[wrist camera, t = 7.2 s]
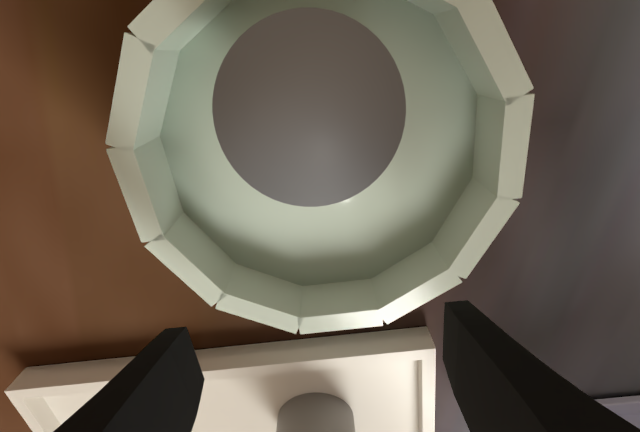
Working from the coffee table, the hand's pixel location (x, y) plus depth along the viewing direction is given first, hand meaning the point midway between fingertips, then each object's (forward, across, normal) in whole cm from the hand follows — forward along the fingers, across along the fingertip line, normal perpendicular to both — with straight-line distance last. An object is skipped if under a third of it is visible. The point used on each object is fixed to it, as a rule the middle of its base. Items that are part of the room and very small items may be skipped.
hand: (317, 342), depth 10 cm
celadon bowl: (+6, -1, -4) cm, 7 cm away
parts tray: (+6, +5, +10) cm, 13 cm away
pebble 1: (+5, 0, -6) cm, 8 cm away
